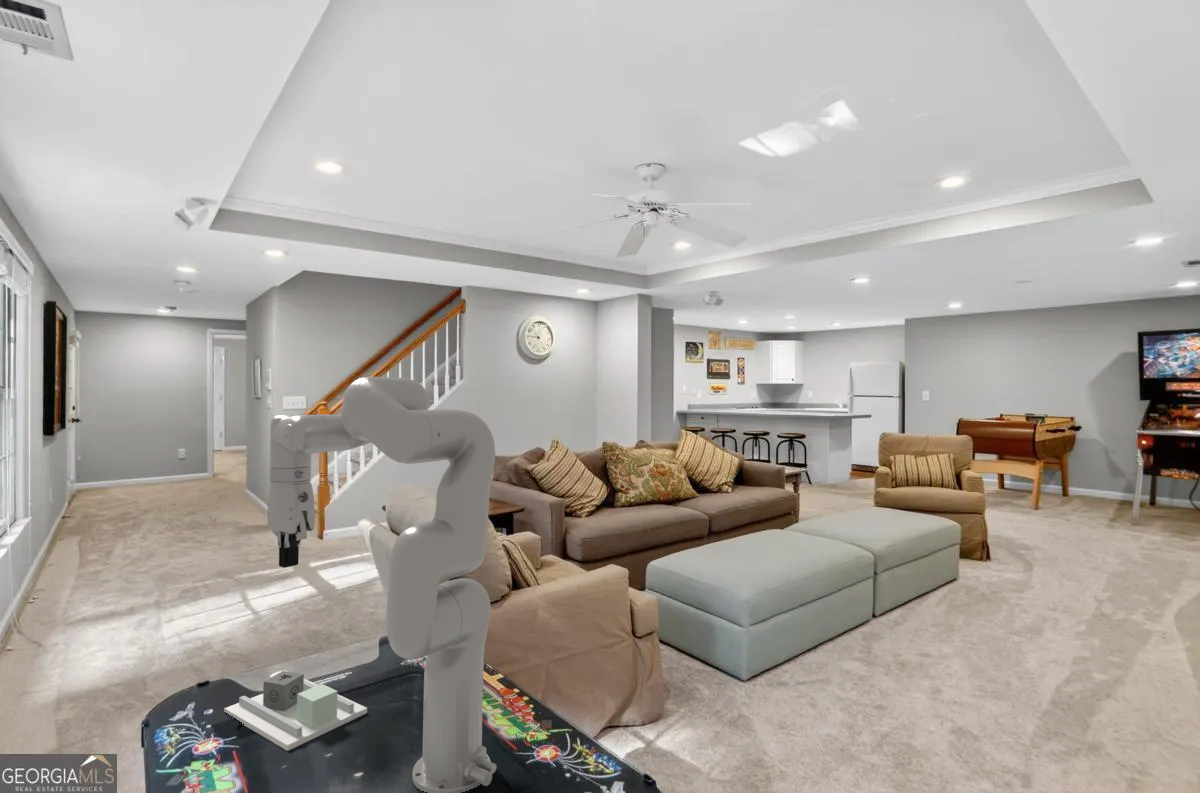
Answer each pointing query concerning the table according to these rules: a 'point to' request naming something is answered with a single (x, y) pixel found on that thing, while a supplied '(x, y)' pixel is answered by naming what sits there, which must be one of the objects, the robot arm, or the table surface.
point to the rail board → (293, 717)
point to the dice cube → (282, 690)
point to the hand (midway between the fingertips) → (288, 565)
